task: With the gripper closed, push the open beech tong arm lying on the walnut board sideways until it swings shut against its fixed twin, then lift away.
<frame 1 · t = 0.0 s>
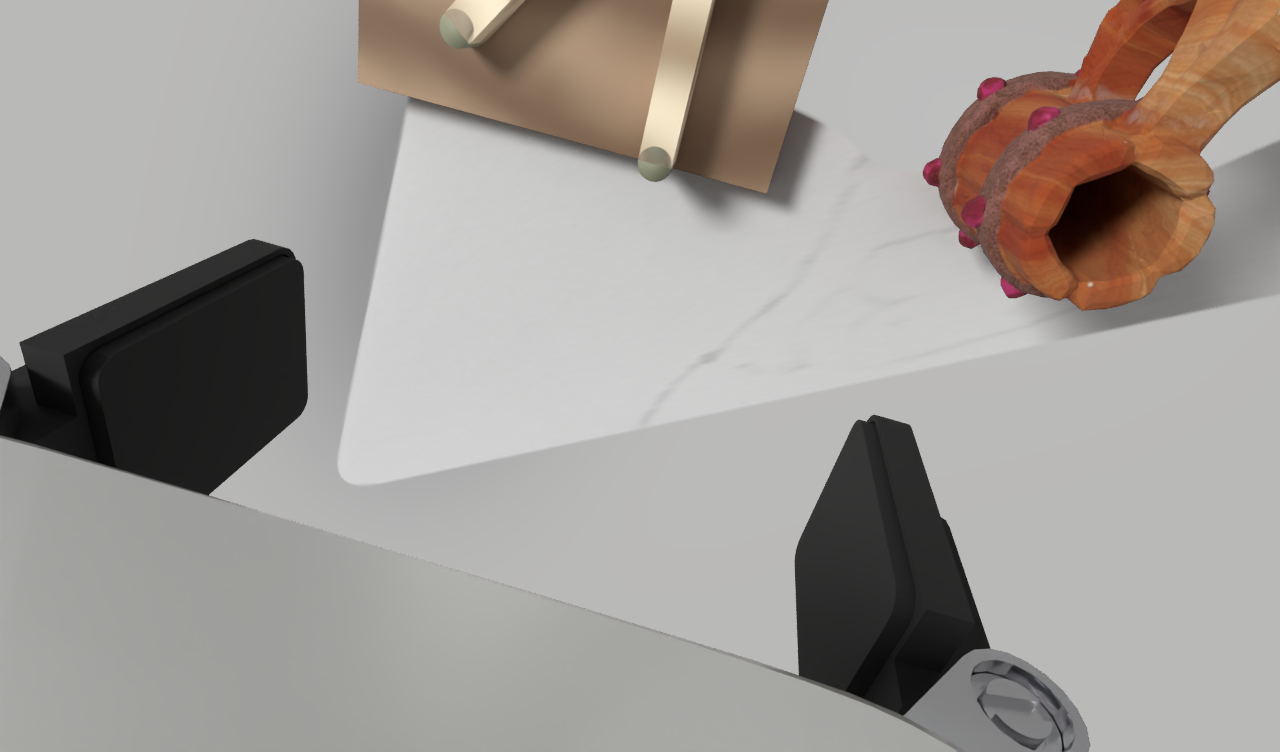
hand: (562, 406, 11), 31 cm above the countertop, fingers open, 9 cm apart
mug: (1035, 103, 35), on the countertop
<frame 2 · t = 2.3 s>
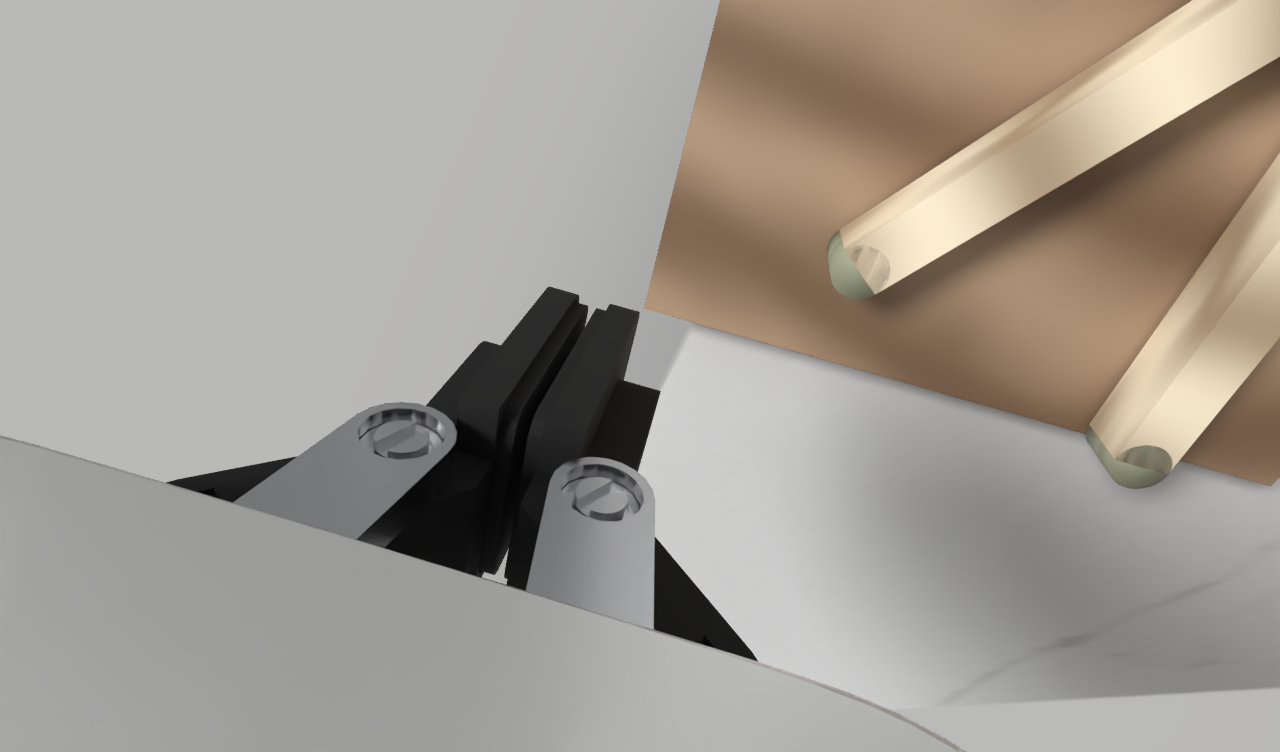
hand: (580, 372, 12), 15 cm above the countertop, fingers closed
tong arm: (1125, 141, 19), point 3 cm above the countertop, hinge at -38.0°
board: (1051, 159, 23), on the countertop
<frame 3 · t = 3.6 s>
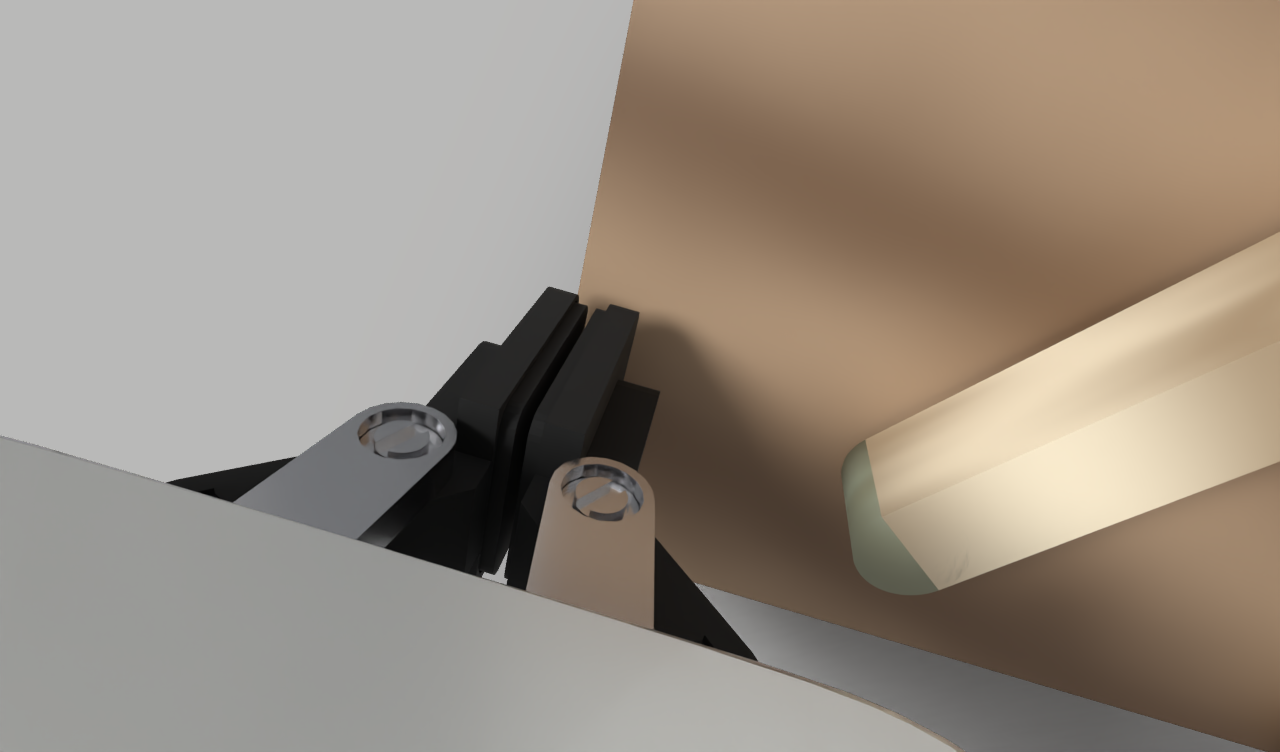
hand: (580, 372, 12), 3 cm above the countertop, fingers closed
board: (1252, 312, 12), on the countertop
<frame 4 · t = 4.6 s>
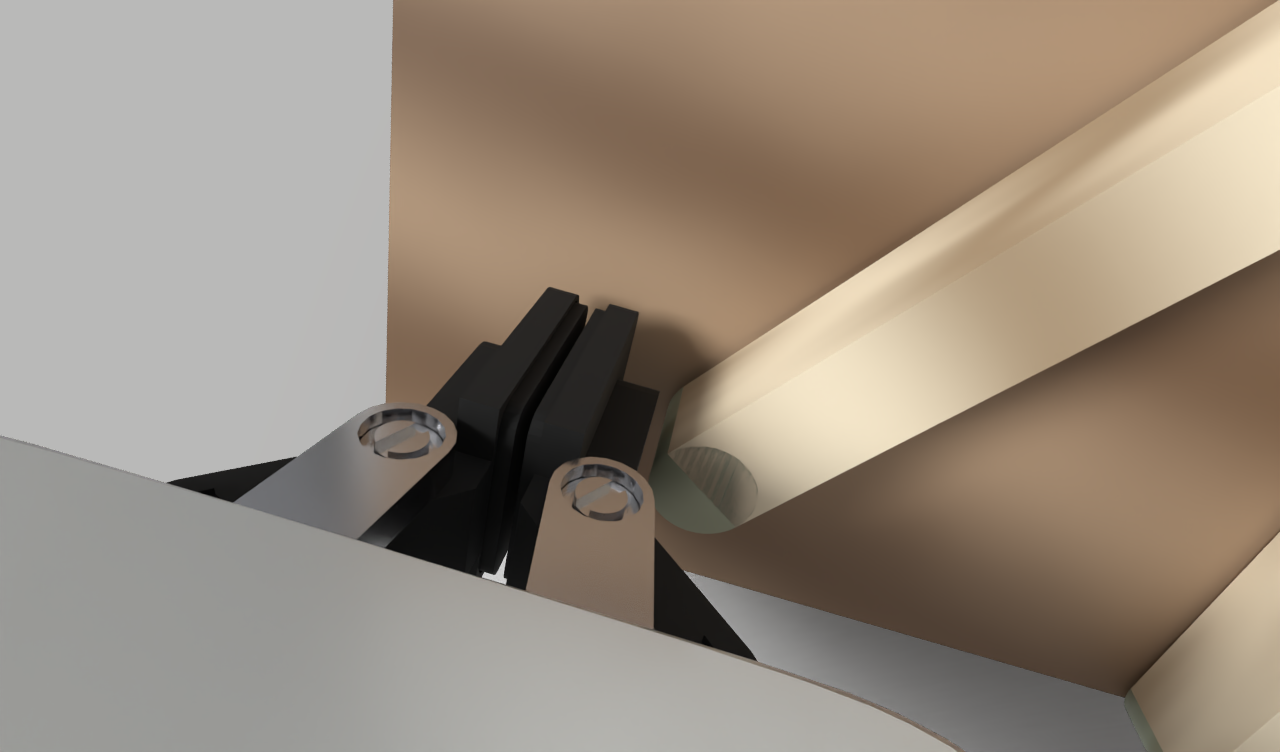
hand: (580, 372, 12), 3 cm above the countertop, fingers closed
tong arm: (1226, 245, 9), point 3 cm above the countertop, hinge at -37.0°, touching gripper
board: (1060, 245, 12), on the countertop
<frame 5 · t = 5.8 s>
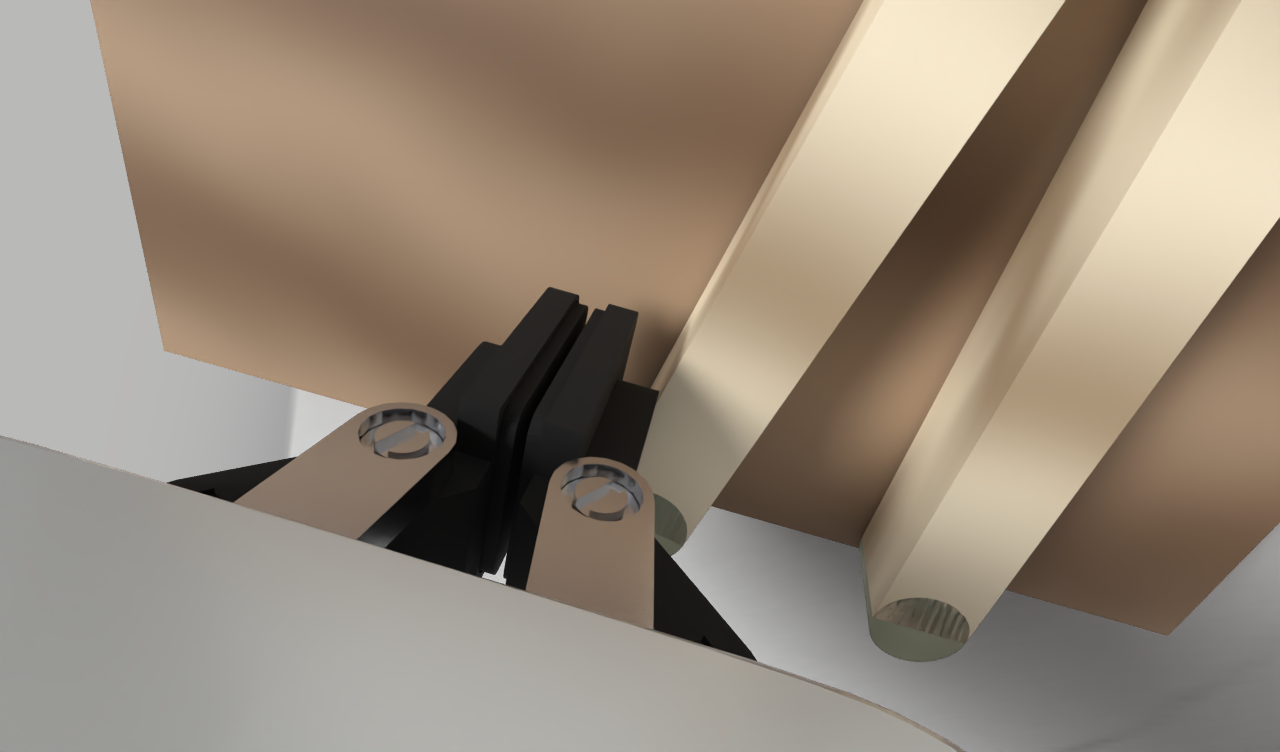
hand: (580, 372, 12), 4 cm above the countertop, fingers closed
tong arm: (942, 171, 10), point 3 cm above the countertop, hinge at -12.3°, touching gripper
board: (754, 88, 13), on the countertop
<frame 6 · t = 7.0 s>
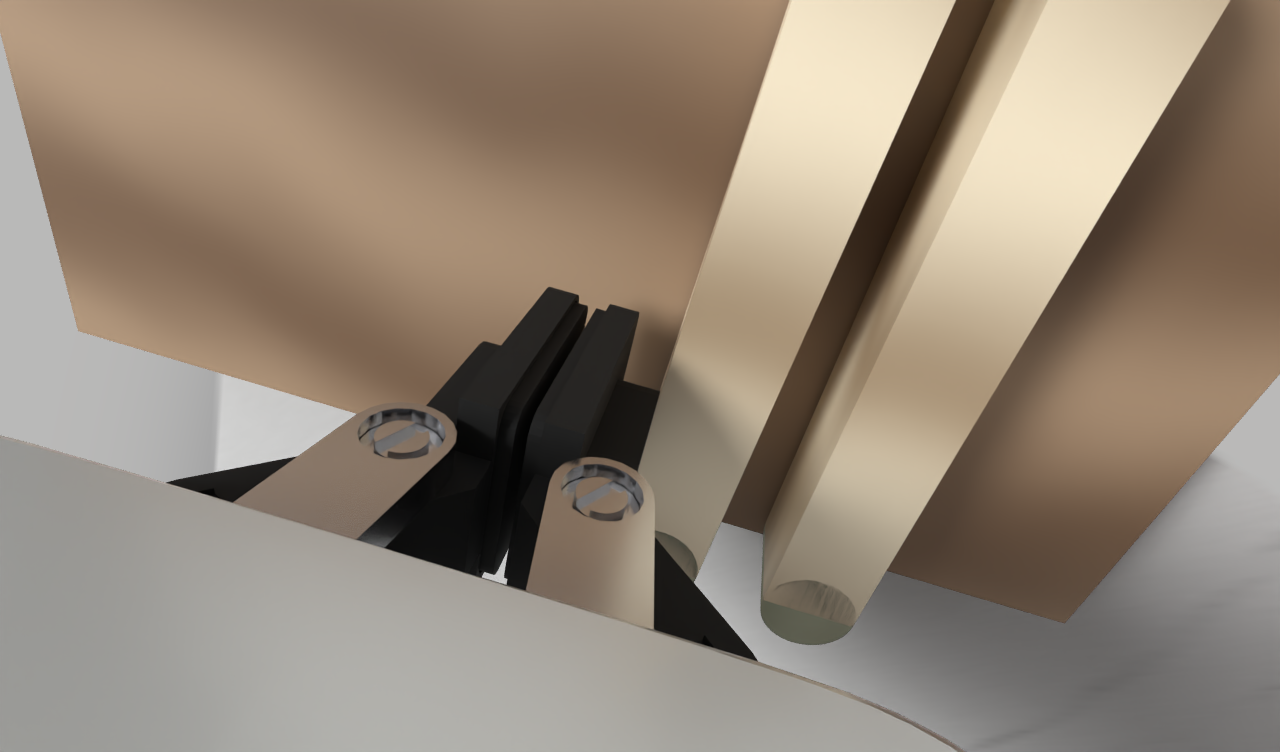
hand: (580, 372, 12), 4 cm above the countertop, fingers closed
tong arm: (877, 187, 10), point 3 cm above the countertop, hinge at -2.2°
board: (650, 75, 13), on the countertop
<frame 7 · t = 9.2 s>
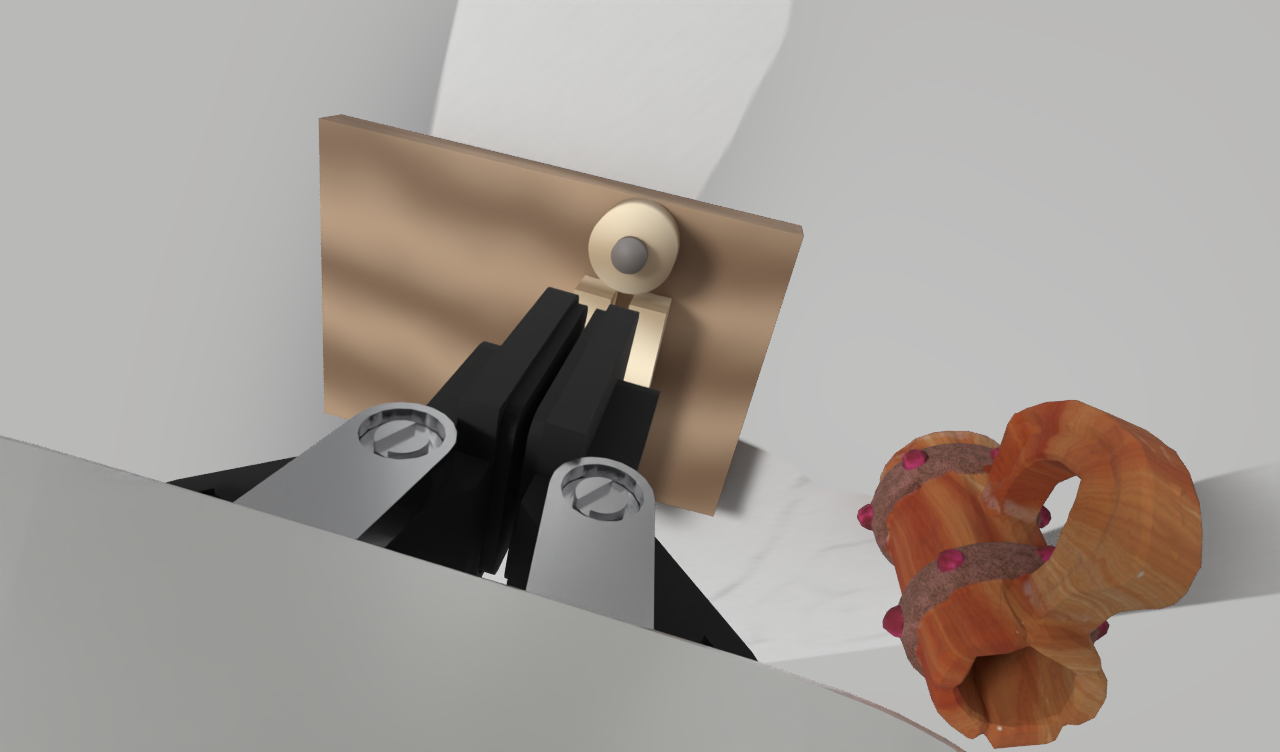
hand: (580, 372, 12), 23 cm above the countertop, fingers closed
tong arm: (603, 368, 35), point 3 cm above the countertop, hinge at -2.2°
mug: (961, 443, 37), on the countertop
tongs fixed: (639, 239, 33), resting on board
board: (544, 321, 38), on the countertop
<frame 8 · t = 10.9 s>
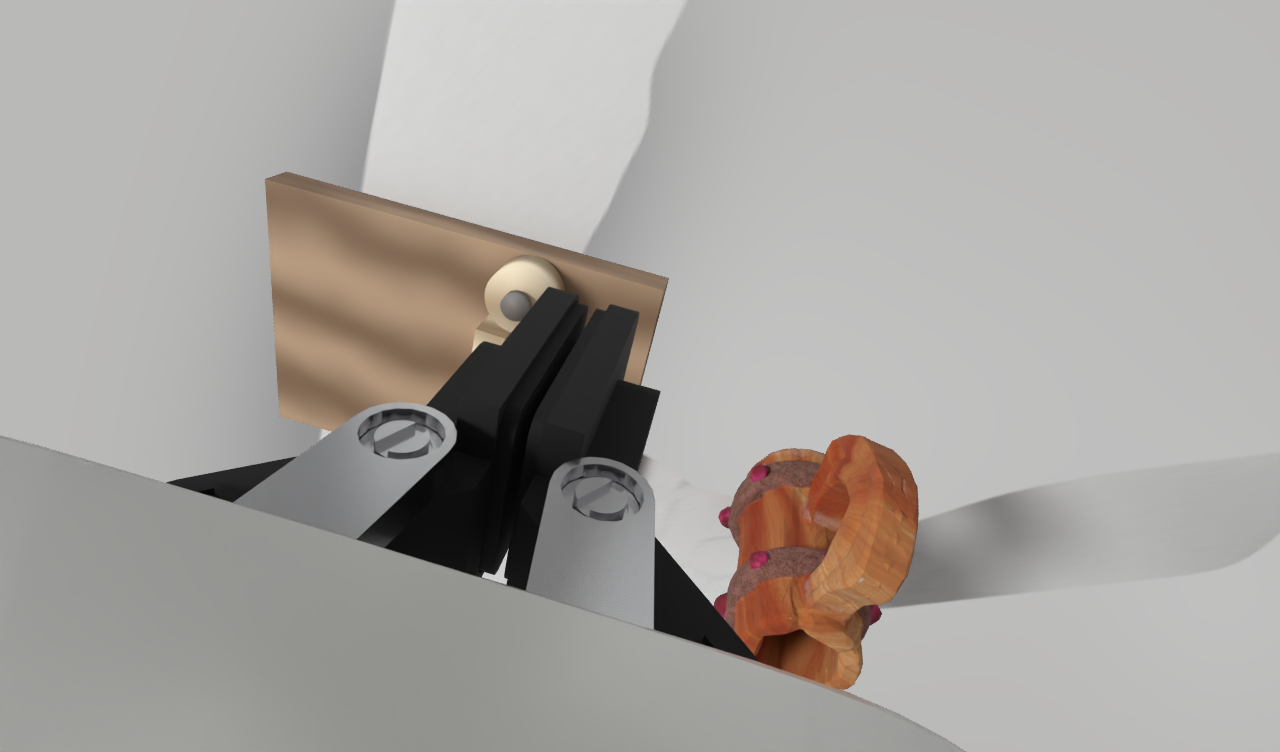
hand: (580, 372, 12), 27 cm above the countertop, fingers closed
tong arm: (505, 390, 42), point 3 cm above the countertop, hinge at -2.2°
mug: (810, 457, 44), on the countertop
tongs fixed: (531, 288, 39), resting on board
board: (463, 346, 45), on the countertop
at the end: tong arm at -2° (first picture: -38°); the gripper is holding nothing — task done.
